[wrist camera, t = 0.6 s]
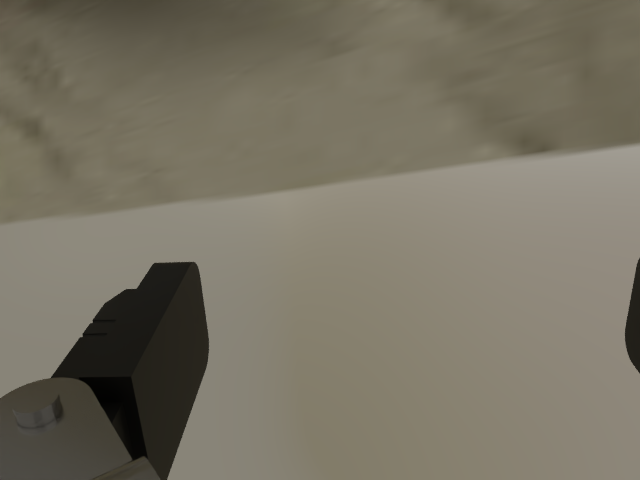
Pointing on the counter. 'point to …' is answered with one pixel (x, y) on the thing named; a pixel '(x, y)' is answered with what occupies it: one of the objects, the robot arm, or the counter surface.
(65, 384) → the robot arm
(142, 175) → the counter surface
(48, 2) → the counter surface
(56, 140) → the counter surface
